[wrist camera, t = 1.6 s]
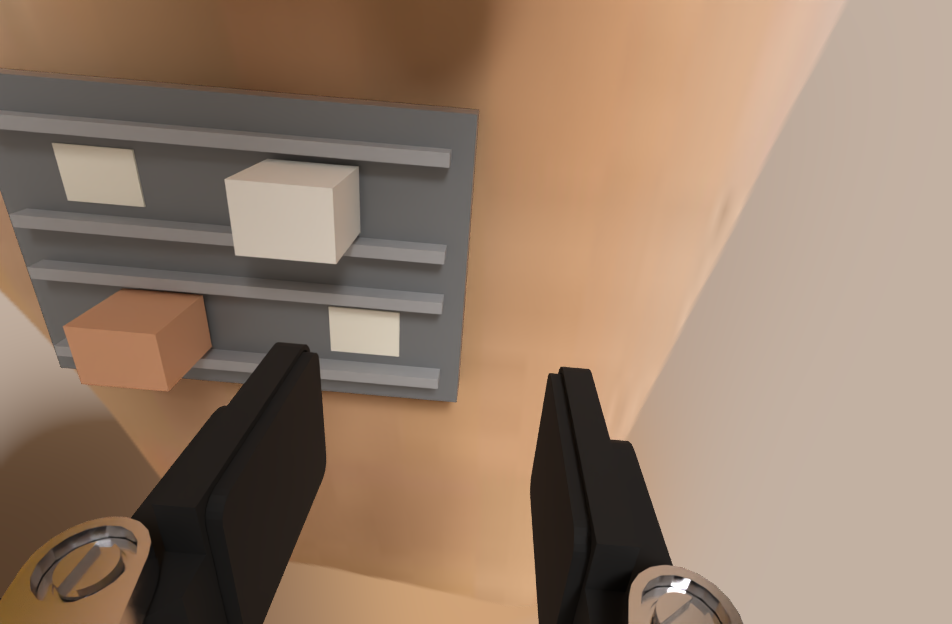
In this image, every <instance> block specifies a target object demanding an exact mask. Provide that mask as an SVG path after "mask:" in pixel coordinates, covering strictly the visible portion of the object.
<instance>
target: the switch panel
mask: <svg viewBox="0 0 952 624" xmlns="http://www.w3.org/2000/svg"><path fill="white" fill-rule="evenodd" d="M478 120H479V110H478V109H466V108H455V107H443V106H431V105H420V104H408V103H397V102H385V101H374V100H362V99H350V98H339V97H327V96H316V95H304V94H292V93H281V92H269V91H258V90H246V89H234V88H223V87H211V86H200V85H188V84H176V83H165V82H153V81H142V80H130V79H118V78H107V77H95V76H84V75H72V74H60V73H49V72H37V71H26V70H14V69H2V68H0V191H1V194H2V196H3V199H4V202H5V205H6V208H7V211H8V214H9V217H10V220H11V223H12V226H13V229H14V232H15V235H16V238H17V240H18V243H19V246H20V249H21V252H22V255H23V258H24V261H25V264H26V267H27V270H28V273H29V276H30V279H31V282H32V284H33V287H34V290H35V293H36V296H37V299H38V302H39V305H40V308H41V311H42V314H43V317H44V320H45V323H46V325H47V328H48V331H49V334H50V337H51V340H52V343H53V346H54V349H55V352H56V355H57V358H58V360H59V364H60V367H61V368H72V369H76V366H75V363H74V359H73V356H72V353H71V350H70V347H69V344H68V341H67V338H66V335H65V332H64V329H63V326H64V325H66V324H67V323H69V322H70V321H72V320H74V319H75V318H77V317H78V316H80V315H81V314H83V313H85V312H86V311H88V310H89V309H91V308H92V307H94V306H96V305H97V304H99V303H100V302H102V301H103V300H105V299H107V298H108V297H110V296H111V295H113V294H114V293H116V292H118V291H119V290H121V289H122V288H127V289H138V290H150V291H161V292H173V293H184V294H196V295H203V300H204V305H205V311H206V316H207V322H208V327H209V333H210V339H211V344H212V347H211V348H210V349H209V350H208V351H207V352H206V353H205V354H204V355H203V357H202V358H201V359H200V360H199V361H198V362H197V363H196V364H195V365H194V366H193V367H192V368H191V369H190V370H189V371H188V372H187V373H186V374H185V375H184V376H183V377H182V378H185V379H197V380H208V381H220V382H231V383H242V384H244V383H245V382H246V381H247V379H248V378H249V377H250V375H251V374H252V373H253V371H254V370H255V369H256V367H257V366H258V365H259V364H260V362H261V361H262V360H263V358H264V357H265V356H266V354H267V353H268V352H269V350H270V349H271V348H272V347H273V345H274V344H275V343H276V342H285V343H296V344H307V345H308V346H309V349H310V352H313V353H317V354H318V356H319V362H320V376H321V390H322V391H333V392H345V393H356V394H368V395H379V396H390V397H402V398H413V399H425V400H436V401H447V402H457V394H458V386H459V376H460V362H461V349H462V335H463V322H464V308H465V295H466V282H467V268H468V255H469V241H470V228H471V214H472V201H473V187H474V174H475V160H476V147H477V134H478ZM266 159H278V160H290V161H301V162H313V163H324V164H336V165H348V166H359V195H360V233H359V235H358V236H357V237H356V239H355V240H354V241H353V243H352V244H351V245H350V247H349V248H348V249H347V251H346V252H345V253H344V254H343V256H342V257H341V258H340V260H339V261H338V262H337V264H329V263H317V262H306V261H294V260H283V259H271V258H260V257H248V256H237V255H235V250H234V243H233V236H232V229H231V222H230V215H229V208H228V201H227V194H226V187H225V180H224V179H226V178H228V177H230V176H232V175H234V174H236V173H238V172H240V171H243V170H245V169H247V168H249V167H251V166H253V165H255V164H257V163H259V162H262V161H264V160H266Z"/></svg>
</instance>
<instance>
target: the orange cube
mask: <svg viewBox="0 0 952 624" xmlns="http://www.w3.org/2000/svg"><path fill="white" fill-rule="evenodd" d="M63 329H64V332H65V335H66V338H67V341H68V344H69V347H70V350H71V353H72V356H73V359H74V363H75V366H76V369H77V372H78V375H79V378H80V381H81V384H88V385H99V386H111V387H122V388H134V389H145V390H156V391H168V392H169V391H170V390H171V389H172V388H173V387H174V385H175V384H176V383H177V382H178V381H179V380H180V379H181V378H182V377H183V376H184V375H185V374H186V373H187V372H188V371H189V370H190V369H191V368H192V367H193V366H194V365H195V364H196V363H197V362H198V361H199V360H200V359H201V358H202V357H203V355H204V354H205V353H206V352H207V351H208V350H209V349H210V348H211V347H212V344H211V339H210V333H209V327H208V322H207V316H206V311H205V305H204V300H203V295H196V294H184V293H173V292H161V291H150V290H138V289H127V288H122V289H121V290H119V291H118V292H116V293H114V294H113V295H111V296H110V297H108V298H107V299H105V300H103V301H102V302H100V303H99V304H97V305H96V306H94V307H92V308H91V309H89V310H88V311H86V312H85V313H83V314H81V315H80V316H78V317H77V318H75V319H74V320H72V321H70V322H69V323H67V324H66V325H64V326H63Z"/></svg>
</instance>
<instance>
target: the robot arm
mask: <svg viewBox="0 0 952 624" xmlns="http://www.w3.org/2000/svg"><path fill="white" fill-rule="evenodd" d="M325 468H326V446H325V432H324V418H323V404H322V390H321V376H320V362H319V356H318V354H317V353H313V352H310V349H309V346H308V345H307V344H296V343H285V342H276V343H275V344H274V345H273V347H272V348H271V349H270V350H269V352H268V353H267V354H266V356H265V357H264V358H263V360H262V361H261V362H260V364H259V365H258V366H257V367H256V369H255V370H254V371H253V373H252V374H251V375H250V377H249V378H248V379H247V381H246V382H245V383H244V384H243V386H242V387H241V388H240V390H239V391H238V392H237V394H236V395H235V396H234V398H233V399H232V400H231V401H230V403H229V404H228V405H227V406H222V407H219V408H218V409H217V410H216V411H215V412H214V413H213V414H212V415H211V417H210V418H209V419H208V421H207V422H206V423H205V424H204V426H203V427H202V428H201V429H200V431H199V432H198V433H197V434H196V436H195V437H194V438H193V440H192V441H191V442H190V443H189V445H188V446H187V447H186V448H185V450H184V451H183V452H182V454H181V455H180V456H179V457H178V459H177V460H176V461H175V462H174V464H173V465H172V466H171V468H170V469H169V470H168V471H167V473H166V474H165V475H164V476H163V478H162V479H161V480H160V482H159V483H158V484H157V485H156V487H155V488H154V489H153V490H152V492H151V493H150V494H149V495H148V497H147V498H146V499H145V501H144V502H143V503H142V504H141V506H140V507H139V508H138V509H137V511H136V512H135V513H134V515H133V516H132V517H131V518H128V517H105V518H100V519H95V520H90V521H88V522H85V523H82V524H80V525H77V526H74V527H71V528H69V529H68V530H66V531H64V532H62V533H61V534H59V535H57V536H55V537H53V538H52V539H51V540H49V541H48V542H47V543H45V544H44V545H43V546H42V547H41V548H40V549H38V550H37V551H35V552H34V553H33V555H32V556H31V557H30V558H29V559H28V561H27V562H26V563H25V564H24V565H23V567H22V568H21V569H20V571H19V572H18V574H17V575H16V577H15V578H14V580H13V581H12V583H11V585H10V586H9V588H8V589H7V591H6V592H5V594H4V595H3V597H2V598H0V624H263V622H264V620H265V617H266V615H267V612H268V610H269V607H270V605H271V603H272V600H273V598H274V595H275V593H276V590H277V588H278V586H279V583H280V581H281V578H282V576H283V574H284V571H285V569H286V566H287V564H288V561H289V559H290V557H291V554H292V552H293V549H294V547H295V545H296V542H297V540H298V537H299V535H300V532H301V530H302V528H303V525H304V523H305V520H306V518H307V515H308V513H309V511H310V508H311V506H312V503H313V501H314V499H315V496H316V494H317V491H318V489H319V486H320V484H321V482H322V479H323V476H324V473H325ZM530 499H531V514H532V529H533V544H534V559H535V574H536V589H537V604H538V618H539V624H743V622H742V619H741V616H740V614H739V613H738V611H737V610H736V608H735V607H734V605H733V604H732V602H731V601H730V599H729V598H728V597H727V596H726V595H725V594H724V593H723V592H722V591H721V590H720V589H719V588H718V587H717V586H716V585H714V584H713V583H712V582H710V581H708V580H707V579H705V578H704V577H703V576H701V575H699V574H698V573H695V572H692V571H690V570H687V569H685V568H682V567H677V566H673V565H672V562H671V559H670V556H669V553H668V550H667V547H666V544H665V541H664V538H663V535H662V532H661V529H660V526H659V523H658V520H657V517H656V514H655V511H654V508H653V505H652V502H651V499H650V496H649V493H648V490H647V487H646V484H645V481H644V478H643V475H642V472H641V469H640V466H639V463H638V460H637V457H636V454H635V451H634V449H633V446H632V444H631V443H630V442H629V441H620V440H610V437H609V434H608V430H607V427H606V423H605V419H604V416H603V412H602V409H601V405H600V402H599V398H598V394H597V391H596V387H595V384H594V380H593V377H592V373H591V371H590V370H589V369H582V368H570V367H560V369H559V372H558V374H553V373H549V375H548V379H547V385H546V391H545V397H544V403H543V409H542V415H541V421H540V427H539V433H538V439H537V445H536V451H535V457H534V463H533V469H532V475H531V484H530Z"/></svg>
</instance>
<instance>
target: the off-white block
mask: <svg viewBox="0 0 952 624" xmlns="http://www.w3.org/2000/svg"><path fill="white" fill-rule="evenodd" d="M224 180H225V187H226V194H227V201H228V208H229V215H230V222H231V229H232V236H233V243H234V250H235V255H237V256H248V257H260V258H271V259H283V260H294V261H306V262H317V263H329V264H337V262H338V261H339V260H340V258H341V257H342V256H343V254H344V253H345V252H346V251H347V249H348V248H349V247H350V245H351V244H352V243H353V241H354V240H355V239H356V237H357V236H358V235H359V233H360V195H359V166H348V165H336V164H324V163H313V162H301V161H290V160H278V159H266V160H264V161H262V162H259V163H257V164H255V165H253V166H251V167H249V168H247V169H245V170H243V171H240V172H238V173H236V174H234V175H232V176H230V177H228V178H226V179H224Z"/></svg>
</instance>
